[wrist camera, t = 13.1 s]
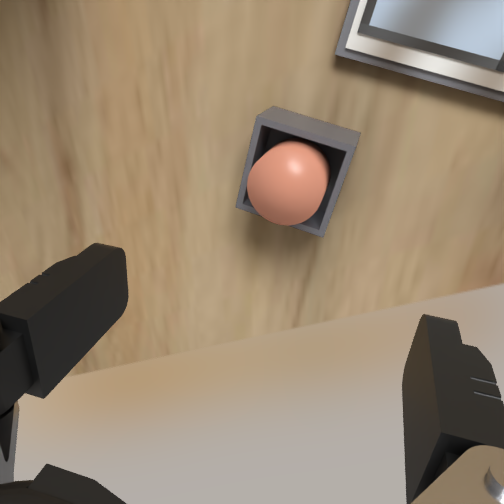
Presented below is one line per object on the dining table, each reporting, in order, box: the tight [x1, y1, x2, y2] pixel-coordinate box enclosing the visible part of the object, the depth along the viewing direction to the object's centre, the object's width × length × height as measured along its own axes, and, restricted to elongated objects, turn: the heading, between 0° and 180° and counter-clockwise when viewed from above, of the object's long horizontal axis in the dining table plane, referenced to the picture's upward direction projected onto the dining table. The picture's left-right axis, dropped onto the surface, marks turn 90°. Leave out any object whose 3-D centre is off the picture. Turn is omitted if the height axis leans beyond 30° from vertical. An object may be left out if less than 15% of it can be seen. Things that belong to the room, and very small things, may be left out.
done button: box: [247, 138, 331, 225], centre depth 26 cm, size 4×4×3 cm
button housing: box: [236, 106, 361, 237], centre depth 28 cm, size 6×6×4 cm
